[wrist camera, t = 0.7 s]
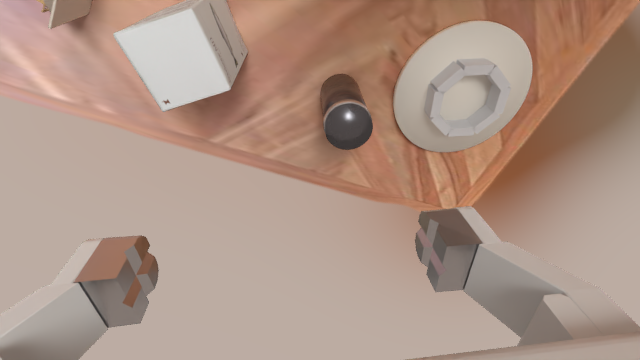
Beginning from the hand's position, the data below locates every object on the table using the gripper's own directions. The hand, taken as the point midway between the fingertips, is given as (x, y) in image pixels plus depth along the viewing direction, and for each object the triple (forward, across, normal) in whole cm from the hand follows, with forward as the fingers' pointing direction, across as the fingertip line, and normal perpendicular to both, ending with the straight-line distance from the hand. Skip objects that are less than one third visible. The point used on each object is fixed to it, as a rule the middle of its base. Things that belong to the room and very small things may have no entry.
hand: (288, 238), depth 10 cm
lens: (+35, -7, +7) cm, 36 cm away
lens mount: (+34, -23, +8) cm, 42 cm away
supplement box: (+35, +9, -1) cm, 36 cm away
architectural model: (+36, +21, -6) cm, 42 cm away
